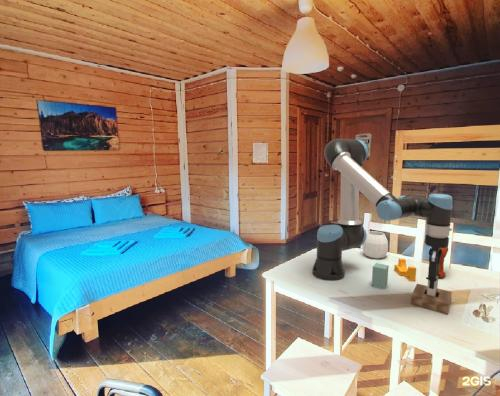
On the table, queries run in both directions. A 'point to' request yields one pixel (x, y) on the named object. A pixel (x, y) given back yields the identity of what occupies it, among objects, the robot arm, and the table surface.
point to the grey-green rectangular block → (380, 275)
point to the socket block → (431, 299)
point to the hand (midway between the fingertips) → (431, 293)
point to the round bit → (436, 286)
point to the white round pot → (375, 245)
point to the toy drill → (442, 262)
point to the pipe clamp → (405, 270)
